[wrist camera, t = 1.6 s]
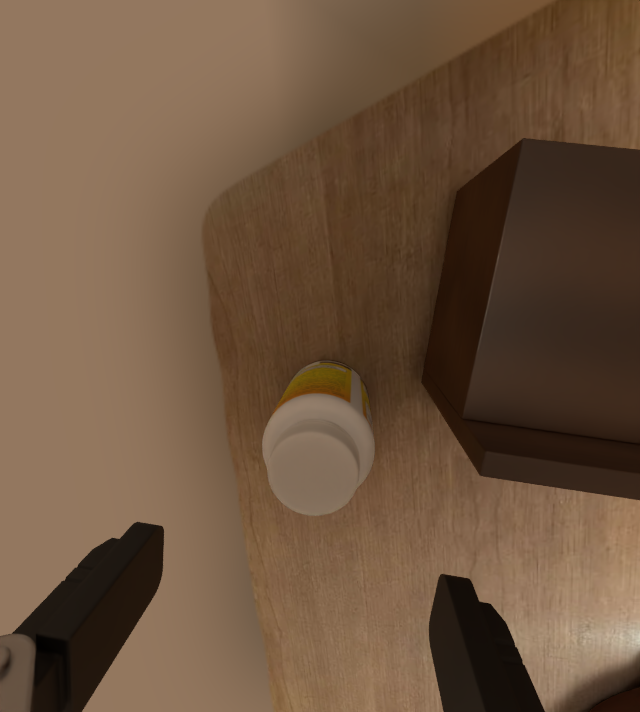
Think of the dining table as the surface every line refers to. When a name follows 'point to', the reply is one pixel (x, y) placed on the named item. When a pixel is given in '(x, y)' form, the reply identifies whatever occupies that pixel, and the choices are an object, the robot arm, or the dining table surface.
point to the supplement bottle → (320, 439)
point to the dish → (620, 702)
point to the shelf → (544, 319)
